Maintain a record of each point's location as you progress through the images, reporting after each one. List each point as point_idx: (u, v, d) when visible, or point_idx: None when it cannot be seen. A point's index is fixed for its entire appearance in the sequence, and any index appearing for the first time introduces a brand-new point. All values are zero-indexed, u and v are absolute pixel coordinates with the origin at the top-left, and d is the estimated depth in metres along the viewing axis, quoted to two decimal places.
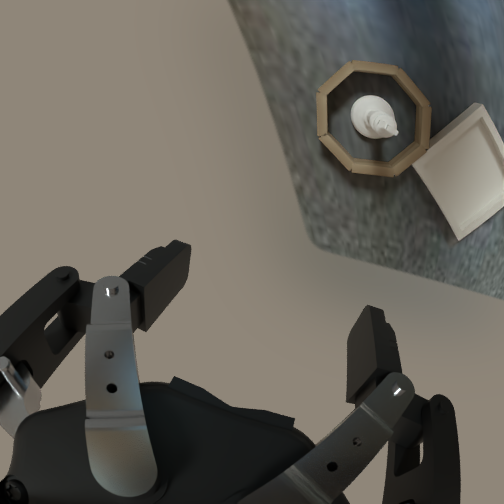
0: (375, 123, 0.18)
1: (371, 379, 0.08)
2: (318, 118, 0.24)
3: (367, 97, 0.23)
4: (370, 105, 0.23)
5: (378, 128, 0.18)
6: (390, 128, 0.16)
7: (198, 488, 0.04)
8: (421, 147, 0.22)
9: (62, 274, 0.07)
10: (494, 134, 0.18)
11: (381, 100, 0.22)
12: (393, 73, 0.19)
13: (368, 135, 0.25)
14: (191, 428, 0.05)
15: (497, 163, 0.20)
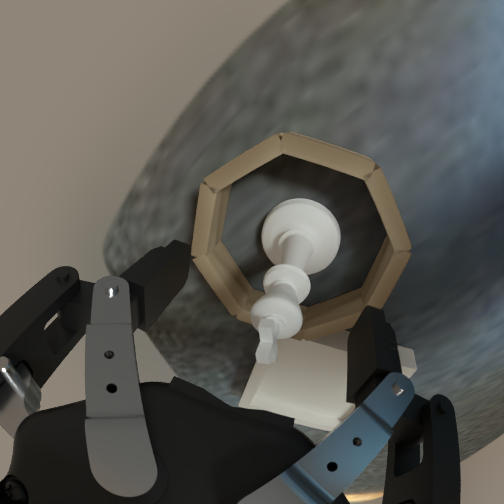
0: (265, 303, 0.10)
1: (371, 379, 0.08)
2: (232, 163, 0.13)
3: (326, 216, 0.15)
4: (315, 229, 0.15)
5: (260, 313, 0.10)
6: (264, 359, 0.08)
7: (198, 488, 0.04)
8: (300, 332, 0.17)
9: (62, 274, 0.07)
10: None
11: (335, 240, 0.15)
12: (395, 246, 0.13)
13: (265, 247, 0.17)
14: (191, 428, 0.05)
15: None
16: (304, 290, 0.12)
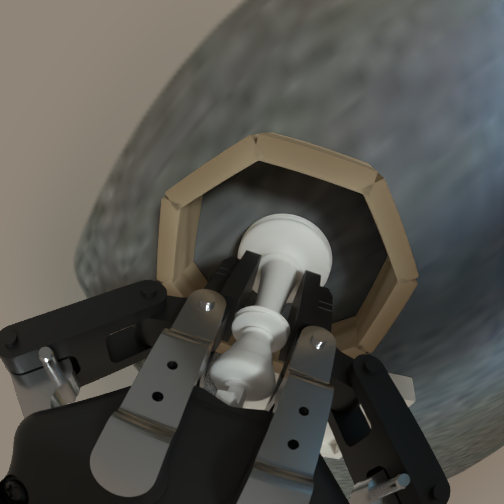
0: (226, 366, 0.07)
1: (295, 333, 0.09)
2: (196, 173, 0.11)
3: (315, 236, 0.12)
4: (301, 252, 0.13)
5: (220, 375, 0.07)
6: None
7: (198, 488, 0.04)
8: None
9: (148, 289, 0.08)
10: None
11: (326, 264, 0.13)
12: (398, 275, 0.10)
13: None
14: (191, 428, 0.05)
15: None
16: (282, 338, 0.09)
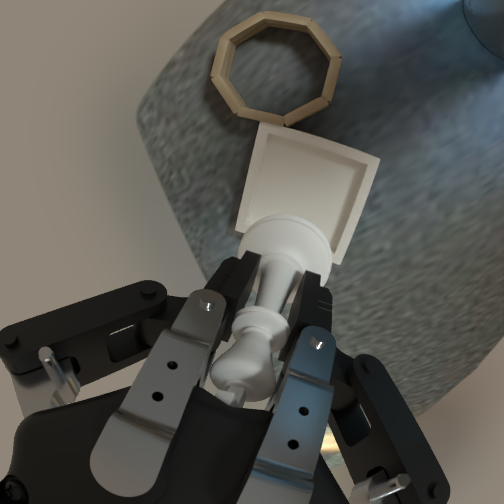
0: (226, 366, 0.07)
1: (295, 333, 0.09)
2: (238, 25, 0.19)
3: (315, 236, 0.12)
4: (301, 252, 0.13)
5: (220, 375, 0.07)
6: None
7: (198, 488, 0.04)
8: (281, 118, 0.23)
9: (148, 290, 0.08)
10: (362, 190, 0.24)
11: (326, 264, 0.13)
12: (330, 55, 0.19)
13: None
14: (191, 428, 0.05)
15: (339, 217, 0.27)
16: (282, 338, 0.09)
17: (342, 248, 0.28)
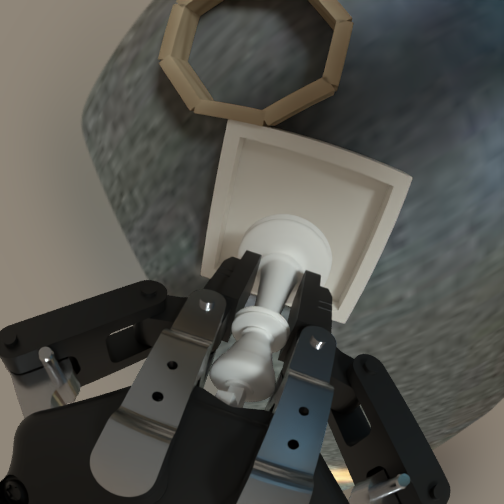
0: (226, 366, 0.07)
1: (295, 333, 0.09)
2: None
3: (315, 237, 0.12)
4: (301, 252, 0.13)
5: (220, 375, 0.07)
6: None
7: (198, 488, 0.04)
8: (260, 113, 0.15)
9: (148, 290, 0.08)
10: (384, 224, 0.16)
11: (326, 264, 0.13)
12: (335, 17, 0.11)
13: None
14: (191, 428, 0.05)
15: (347, 260, 0.19)
16: (282, 338, 0.09)
17: (349, 303, 0.19)
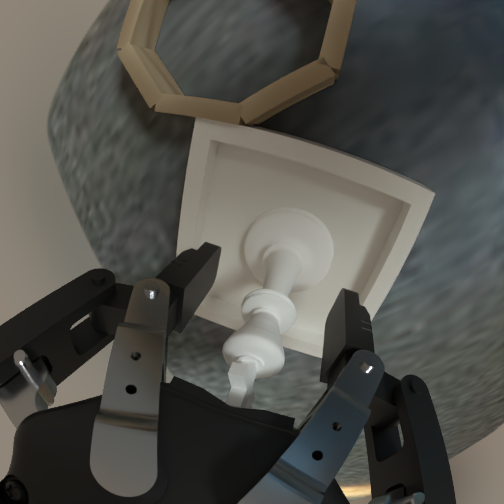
0: (239, 341, 0.08)
1: (341, 357, 0.08)
2: None
3: (318, 228, 0.13)
4: (304, 242, 0.13)
5: (233, 351, 0.08)
6: None
7: (198, 488, 0.04)
8: (236, 108, 0.11)
9: (98, 277, 0.08)
10: (396, 253, 0.12)
11: (328, 255, 0.14)
12: None
13: (249, 262, 0.15)
14: (191, 428, 0.05)
15: None
16: (289, 319, 0.10)
17: None
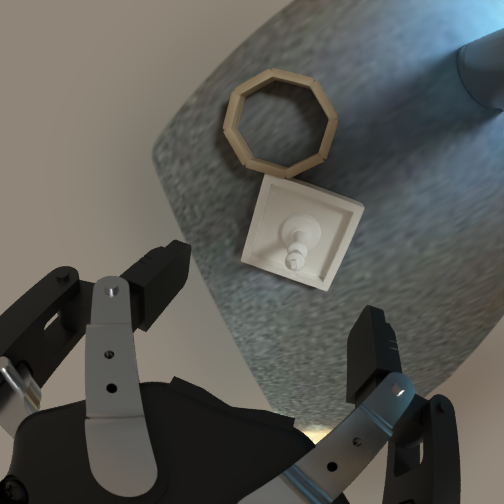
0: (291, 255, 0.26)
1: (371, 379, 0.08)
2: (248, 81, 0.25)
3: (314, 222, 0.32)
4: (308, 228, 0.32)
5: (289, 259, 0.26)
6: (293, 272, 0.25)
7: (198, 488, 0.04)
8: (283, 172, 0.29)
9: (62, 274, 0.07)
10: (348, 233, 0.31)
11: (318, 234, 0.32)
12: (329, 116, 0.25)
13: (283, 237, 0.33)
14: (191, 428, 0.05)
15: (328, 253, 0.34)
16: (304, 253, 0.28)
17: (329, 278, 0.34)
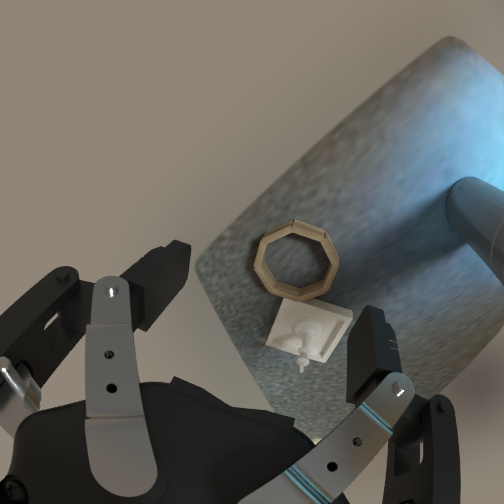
0: (301, 359, 0.39)
1: (371, 379, 0.08)
2: (273, 234, 0.38)
3: (317, 325, 0.44)
4: (313, 329, 0.45)
5: (299, 360, 0.39)
6: (301, 371, 0.38)
7: (199, 488, 0.04)
8: (297, 298, 0.42)
9: (62, 274, 0.07)
10: (340, 332, 0.43)
11: (320, 331, 0.45)
12: (332, 264, 0.38)
13: (295, 333, 0.46)
14: (191, 428, 0.05)
15: (326, 340, 0.46)
16: (309, 352, 0.41)
17: (326, 356, 0.47)
